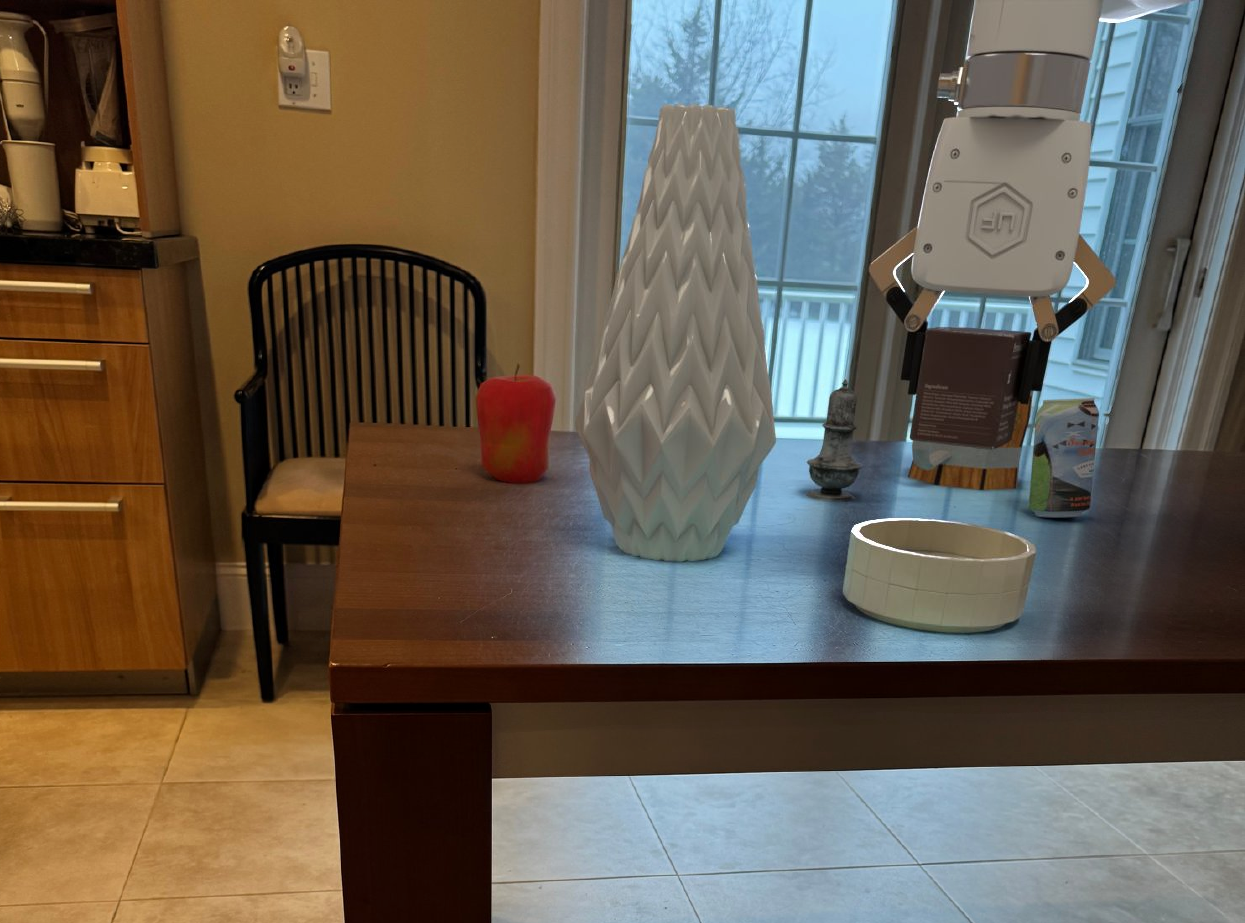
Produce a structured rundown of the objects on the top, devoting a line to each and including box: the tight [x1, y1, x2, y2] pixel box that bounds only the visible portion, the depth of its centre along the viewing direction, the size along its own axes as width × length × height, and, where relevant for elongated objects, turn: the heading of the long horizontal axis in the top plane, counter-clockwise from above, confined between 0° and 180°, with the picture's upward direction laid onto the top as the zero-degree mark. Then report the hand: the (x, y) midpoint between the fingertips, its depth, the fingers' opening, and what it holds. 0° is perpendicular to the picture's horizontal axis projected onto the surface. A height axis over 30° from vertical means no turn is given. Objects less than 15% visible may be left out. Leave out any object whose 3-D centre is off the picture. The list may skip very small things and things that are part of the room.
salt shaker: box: [805, 378, 863, 502], centre depth 124 cm, size 6×6×12 cm
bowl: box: [842, 517, 1037, 634], centre depth 87 cm, size 13×13×6 cm
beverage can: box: [1028, 397, 1100, 518], centre depth 120 cm, size 6×7×12 cm
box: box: [909, 326, 1032, 450], centre depth 81 cm, size 6×6×7 cm
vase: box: [574, 103, 777, 563], centre depth 94 cm, size 17×17×33 cm
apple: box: [474, 363, 557, 484], centre depth 124 cm, size 9×8×12 cm
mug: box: [907, 391, 1034, 491], centre depth 135 cm, size 20×14×15 cm
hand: (968, 395), depth 82 cm, fingers closed on box, 6 cm apart
